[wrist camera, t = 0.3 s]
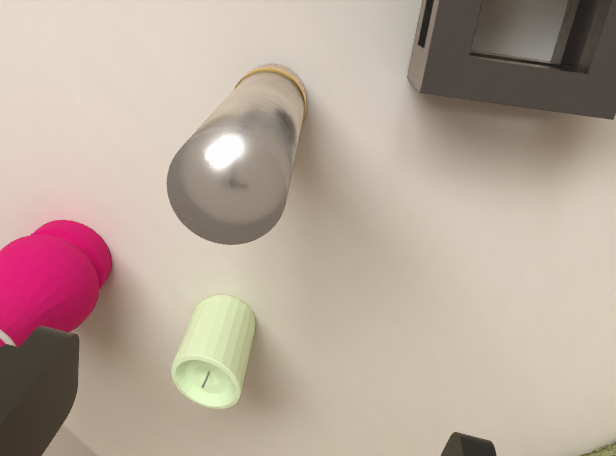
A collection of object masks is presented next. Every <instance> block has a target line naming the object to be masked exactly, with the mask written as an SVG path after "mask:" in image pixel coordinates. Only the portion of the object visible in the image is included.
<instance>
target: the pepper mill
mask: <svg viewBox="0 0 616 456" xmlns="http://www.w3.org/2000/svg"><path fill="white" fill-rule="evenodd" d="M111 264H112V263H111V256H110V252H109V250H108V247H107V246H106V244H105V243H104V241H103V240H102V238H101V237H100V236H99V235H98V234H96V233H95V232H94V231H93V230H92V229H90V228H88V227H87V226H85V225H83V224H80V223H77V222H74V221H69V220H57V221H52V222H49V223H46V224H44V225H43V226H41V227H40V228H39V229H37V230H36V231H35V232H34V233H33V234H31V235H30V236H26V237H21V238H19V239H17V240H15V241H13V242H11V243H9V244H8V245H6V246H5V247H4V248H3V249H2V250H1V251H0V347H1V346H3V345H5V344H9V345H12V346H16V347H20V346H21V344H22V343H23V342H24V341H25V340H26V339H27V338H28V337H29V336H30V334H31V333H32V332H33V331H34V330H35V329H36V328H37V327H39V326H45V327H49V328H53V329H57V330H61V331H65V332H71V331H72V330H74V329H75V328H77V327H78V326H79V325H80V324H81V323H82V322H83V321H84V320H85V319H86V318H87V317H88V316H89V314H90V313H91V312H92V311H93V309H94V307H95V305H96V302H97V299H98V294H99V290H100V288H101V287H102V286H103V284H104V283H105V282H106V280H107V279H108V277H109V274H110V271H111Z"/></svg>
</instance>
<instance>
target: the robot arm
mask: <svg viewBox="0 0 616 456" xmlns="http://www.w3.org/2000/svg"><path fill="white" fill-rule="evenodd" d="M78 365H79V337H78V335H77V334H73V333H69V332H65V331H61V330H57V329H53V328H49V327H45V326H39V327H37V328H36V329H35V330H34V331H33V332H32V333H31V334H30V336H29V337H28V338H27V339H26V340H25V341H24V342H23V343H22V344H21V346H20V347H16V346H12V345H9V344H5V345H3V346H1V347H0V456H42V454H43V453H44V451H45V450H46V448H47V447H48V445H49V444H50V442H51V441H52V439H53V438H54V436H55V435H56V433H57V431H58V430H59V429H60V427H61V425H62V424H63V422H64V421H65V419H66V418H67V416H68V414H69V413H70V410H71V408H72V406H73V403H74V401H75V397H76V394H77V388H78ZM441 456H496V451H495V448H494V445H493V443H492V442H491V441H489V440H485V439H481V438H477V437H473V436H469V435H465V434H461V433H457V432H454V433H453V434H452V435H451V436H450V438H449V440H448V442H447V444H446V446H445V448H444V450H443V452H442V454H441Z"/></svg>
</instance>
